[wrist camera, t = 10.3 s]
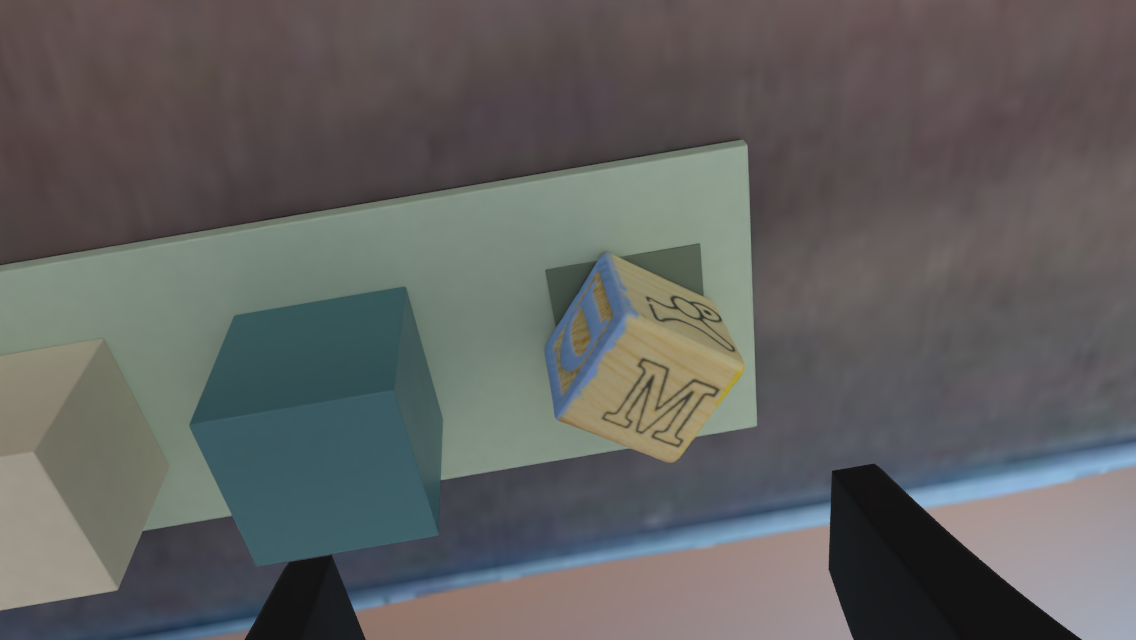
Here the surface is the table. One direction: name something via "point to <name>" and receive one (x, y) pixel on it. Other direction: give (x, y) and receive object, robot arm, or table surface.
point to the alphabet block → (640, 360)
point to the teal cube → (324, 427)
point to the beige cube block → (70, 474)
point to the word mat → (436, 292)
